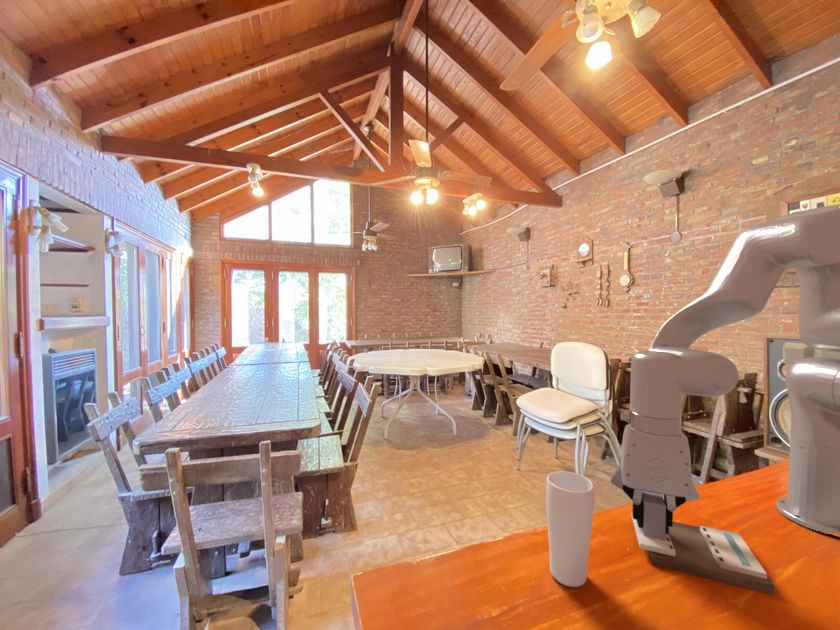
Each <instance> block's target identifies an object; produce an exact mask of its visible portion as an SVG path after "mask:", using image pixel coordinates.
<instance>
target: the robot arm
mask: <svg viewBox="0 0 840 630" xmlns="http://www.w3.org/2000/svg"><path fill="white" fill-rule="evenodd" d="M789 269H793V270H794V272H795V274H796V275H797V279H798V285H799V287H798V289H799V292H798V293H799V294H798V295H799V297H798V298H799V299H798V335H799V338H800V341H801V342H802V343H803V344H804V345H805V346H806V347H809V348H812V349H815V350H820V351H825V352H833V353H834V352H835V353H840V203H837V204H832V205H826V206H820V207H816V208H809V209H806V210H804V209H803V210H801V211H796V212H793V213H789V214H786V215H785V214H784V216H780V217H777V218H776V219H774V220H772V221H767V222H762V223H761V222H760V223H757V224H755V225H751V226H749V227H746V228H744V229H742V231H740V232H739V233H738V234H737V235H736V237H735V238H734V239H733V241H732V243H731V244H730V247H729V248H728V250H727V252H726V254H725V255H724V257H723V259H722V261H721V263H720V264H719V266H718V268H717V270H716V271H715V274H714V276H713V277H712V279H711V281H710V282H709V285H708V286H707V287H706V289H705V291H704V292H703V293H702V294H701V295H700V296H698V297H697V298H695V299H694V300H692V301H690V302H689V303H687V304H686V305H685V306H683V307H682V308H681V309H680V310H678V311H677V312H676V313H674V314H673V315H672V316H671V317H669V318H668V319H667V320H666V321H665V322H664V323H663V324H662V325H661V327H660V328H659V329H658V331H657V332H656V335H655V337H654V338H653V339H652V342H651V343H650V345H649V347H648V349H647V350H641V351H636V352H635V353H633V355H632V356H631V359H630V360H631V362H630V389H629V390H630V392H629V394H630V395H629V396H630V397H629V408H628V410H627V412H626V411H625V412H620V421H625V422H627V424H626V425H625V426H624V430H623V435H622V440H621V446H620V454H619V465H618V466H617V467H616V469H615V470H614V471H613V473H612V474H611V475H610V479H609V480H610V482H611V484H612V485H614V486H615V487H617V488H618V489H621V490H622V491H623V492H624V493H625V495H627V496H628V497H629V498H630V500H632V510H631V512H632V515H633V519H636V520H637V524H638V527H639V528H642V527H643V518H644V506H643V503H642V499H641V497H642V491H647V492H652V493H658V494H661V495H663V500H664V502H665V505H666V524H665V533H667V534H668V533H669V527H672V525H673V522H674V521H673V520H674V519H673V517H674V512H676V510H677V508H678V507H680V506H682V505H684V504H686V503H687V502H692V501H695V500H699V499H700V497H701V495H700V494H699V492H698V491H697V489H696V486H695V485H694V484H693V482H692V481H693V478H692V476H693V475H692V460H691V459H692V458H691V451H690V445H689V439H688V436H687V435H686V434H685V433H684V432H682V418H683V417H682V415H683V397H684V396H685V395H689V396H697V397H705V398H711V397H712V398H714V397H719V396H724V395H727V394H729V393H730V392H731V391H732V390H733V389H735V388H736V386H737V384H738V383H739V376H740V375H739V374H740V373H739V370H738V368H737V365H736V364H735V363H734V362H733V361H732V360H730V359H729V358H728V357H726V356H724V355H722V354H719V353H715V352H711V351H705V350H699V349H698V350H697V349H692V348H690V347H691V345H693V344H694V342H695V341H696V340H698V339H699V338H700V337H702V336H703V335H705V334H707V333H708V332H711V331H714V330H717V329H719V328H722V327H725V326H728V325H732V324H735V323H737V322H738V323H739V322H742V321H744V320H747V319H749V318H753V317H755V316H757V315H758V314H760V313H761V312H762V311H763V310H764V308H765V306H766V305H767V303H768V301H769V300H770V298H771V295H772V294H773V292H774V290H775V288H776V286H777V285H778V282H779V281H780V278H781V277H782V276H783V275H784V272H785V271H787V270H789ZM785 385H786V391H787V395H788V400H789V406H790V407H789V408H790V439H789V457H788V458H789V459H788V479H787V480H788V482H787V484H786V485H787V496H783V497H779V498H778V499H777V500H776V508H777V510H778V511H779V512H780V513H781V514H782V515H783V516H785V517H786V518H787V519H789V520H790V521H792V522H795V523H797V524H798V525H800V526H803V527H805V528H807V529H809V528H810V530H812V529H813V530H812V531H815V530H816V531H815V532H817V531H821V532H824V533H835V534H840V359H839V358H833V357H832V358H831V357H819V356H818V357H816V356H815V357H814V356H811V357H804V358H801V359H798V360H795V361H794V362H793V363H792V364H791V365H790V366H789V367H788V368H787V370H786V373H785ZM632 515H631V516H632ZM633 519H632V520H633Z"/></svg>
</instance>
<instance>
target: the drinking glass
mask: <svg viewBox="0 0 840 630" xmlns="http://www.w3.org/2000/svg"><path fill="white" fill-rule="evenodd" d="M594 493H595V492H594V483H593V482H592V481H591V480H590V479H589V478H587V477H585V476H584V475H581V474H579V473H575V472H572V471H565V470H556V471H553V472H550V473H549V474H547V476H546V488H545V511H546V520H547V521H546V523H547V524H546V525H547V537H548V549H549V551H548V552H549V570H550V574H551V576H552V577H553V578H554V579H555V580H556V581H557V582H558V583H560V584H562V585H564V586H566V587H569V588H570V587H571V588H578V587H582V586H583V585H584V584H586V582H587V578H588V562H589V555H590V545H591V537H592V529H593V522H594V521H593V520H594V510H595V509H594V508H595V495H594Z"/></svg>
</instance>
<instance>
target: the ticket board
mask: <svg viewBox="0 0 840 630" xmlns="http://www.w3.org/2000/svg"><path fill="white" fill-rule="evenodd" d="M668 534H669V537H670V539H671V542H672V544H673V547H674V549H675V552H676V555H675V557H674V556H670V555H666V554H662V553H657V552H653V551H649V550H647V551H648V554H649V558H650V561H651V565H652V566H657V567H659V568H665V569H668V570H673V571H676V572H681V573H685V574H688V575H692V576H697V577H700V578H704V579H709V580H712V581H715V582H718V583H719V582H720V583H724V584H728V585H732V586H736V587H740V588H742V589H743V588H744V589H748V590H752V591H756V592H759V593H764V594H767V595H772V596H775V589H776V586H775V584H774V582H773V580H772V579H771V578H770V577H769V575H768V573H767V572H766V570H765V569H764V568H763V566H762V565H761V563H760V562H759V560H758V559H757V558H756V556H755V555H754V553H753V552H752V551H751V549H750V547H749V546H748V545H747V543H746V542H745V540H744V539H743V537H742V536H741V534H740V533H737V532H733V531H727V530H722V529H717V528H713V527H708V526H702V525H699V526H695V525H691V524H687V523H681V522H677V521H673V525H672V527H669V533H668Z"/></svg>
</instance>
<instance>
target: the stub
mask: <svg viewBox="0 0 840 630" xmlns="http://www.w3.org/2000/svg"><path fill="white" fill-rule="evenodd" d="M662 495H663V494H658V493H652V492H647V491H642V497H641V499H642V503H643V506H644V518H643V527H642V528H639V527H638V524H637V520H636V519H633V515H632V511H631V512H630V513H631V518H632V519H631V520H632V523H633V526H634V531H635V535H636V538H637V542H638V546H639V549H641V550H646V551H648V550H649V551H653V552H657V553H662V554H666V555H670V556H674V557H675V555H676V552H675V549H674V547H673V544H672V542H671V539H670V537H669V534H667V533H665V524H666V505H665V502H664V497H663V496H662ZM649 551H648V552H649Z"/></svg>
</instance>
